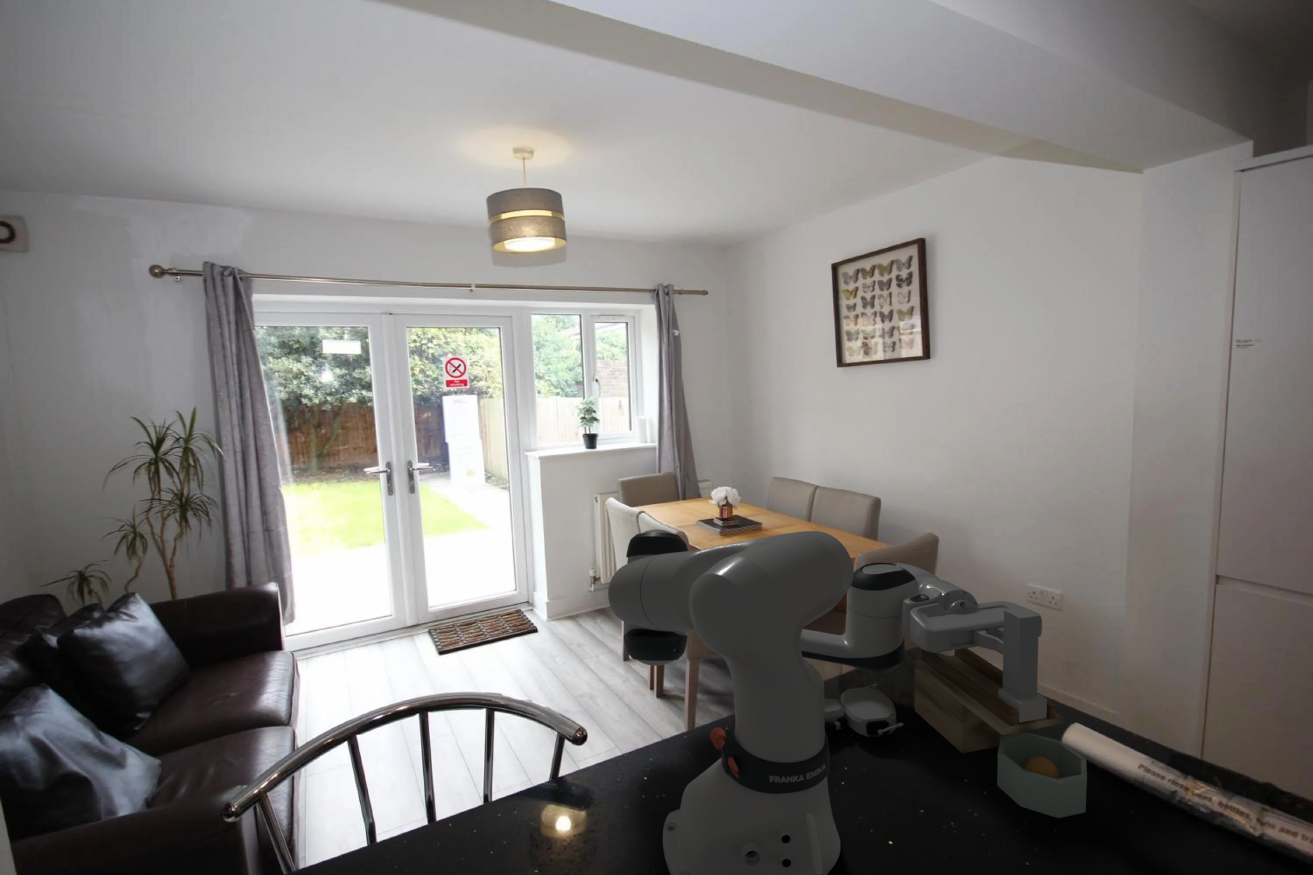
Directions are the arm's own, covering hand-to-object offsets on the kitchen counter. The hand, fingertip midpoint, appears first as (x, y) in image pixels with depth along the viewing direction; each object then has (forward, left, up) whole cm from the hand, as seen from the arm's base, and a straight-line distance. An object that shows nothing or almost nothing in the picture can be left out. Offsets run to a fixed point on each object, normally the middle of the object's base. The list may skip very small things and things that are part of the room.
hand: (1012, 648), depth 88 cm
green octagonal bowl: (0, -6, -18) cm, 19 cm away
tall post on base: (0, -2, -9) cm, 9 cm away
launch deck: (0, +6, -18) cm, 19 cm away
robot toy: (-18, +15, -18) cm, 30 cm away
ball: (0, -6, -15) cm, 16 cm away
